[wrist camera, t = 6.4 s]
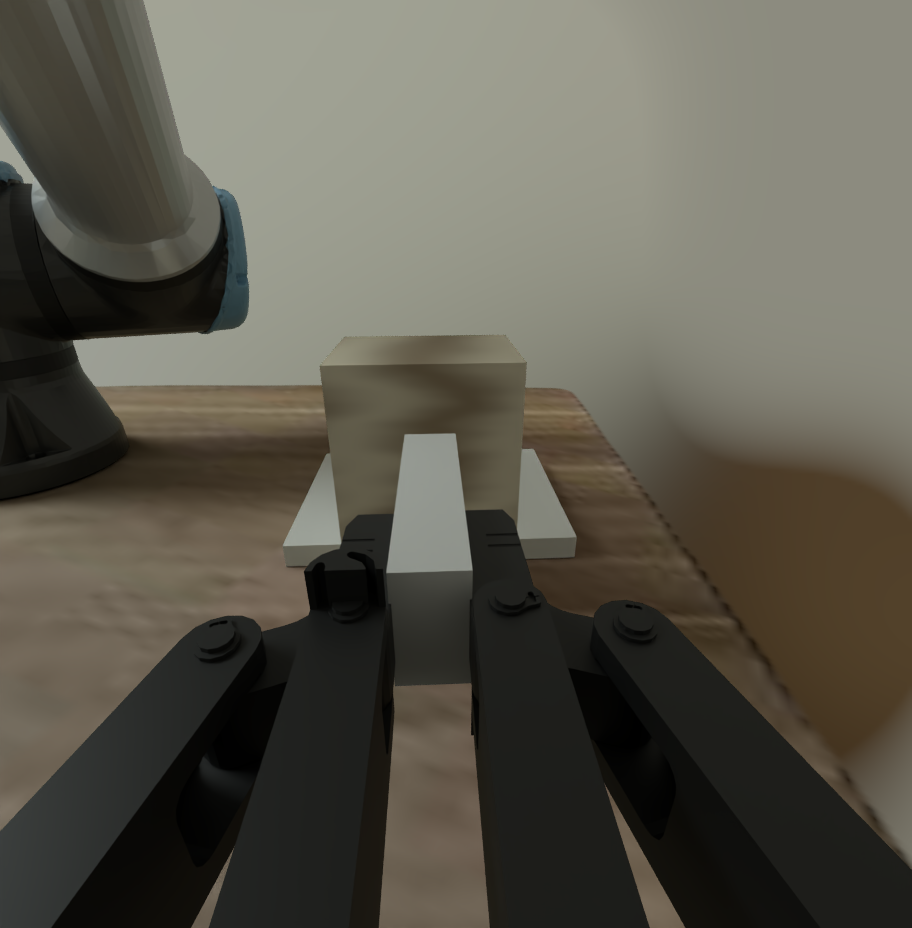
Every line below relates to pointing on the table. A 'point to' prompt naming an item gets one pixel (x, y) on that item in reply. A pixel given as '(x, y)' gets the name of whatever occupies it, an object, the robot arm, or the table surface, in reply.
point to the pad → (537, 523)
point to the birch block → (423, 416)
